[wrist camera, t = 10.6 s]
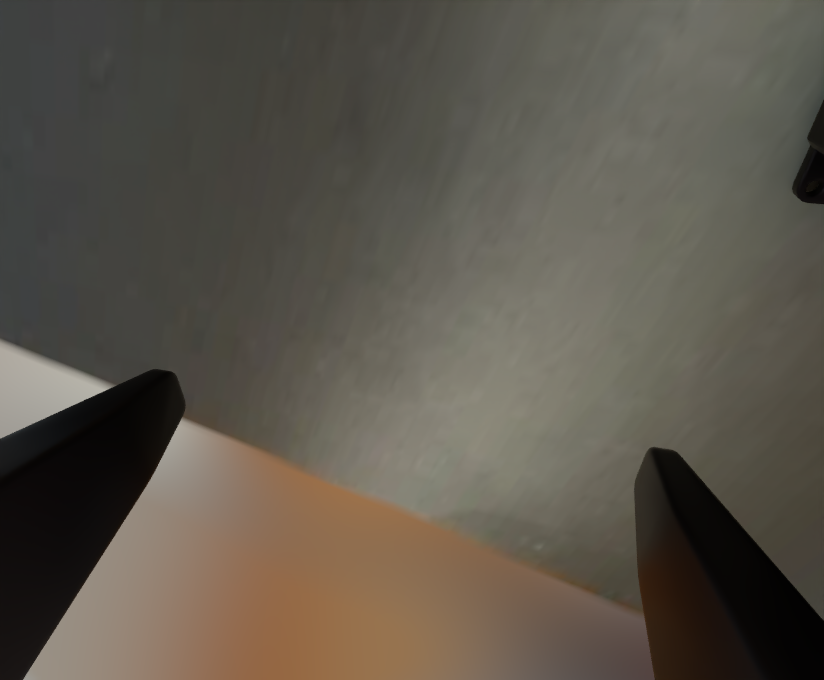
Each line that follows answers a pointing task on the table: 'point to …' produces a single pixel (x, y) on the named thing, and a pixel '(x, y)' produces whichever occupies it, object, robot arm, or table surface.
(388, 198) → the table surface
